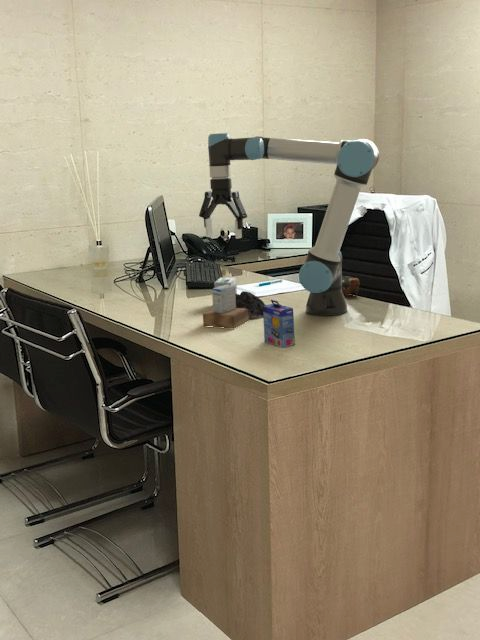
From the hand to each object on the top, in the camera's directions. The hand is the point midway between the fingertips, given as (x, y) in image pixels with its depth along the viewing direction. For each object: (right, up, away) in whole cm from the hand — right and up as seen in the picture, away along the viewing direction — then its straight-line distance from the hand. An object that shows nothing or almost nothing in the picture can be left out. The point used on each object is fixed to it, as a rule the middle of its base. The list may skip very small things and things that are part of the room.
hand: (223, 237), depth 287 cm
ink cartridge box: (+18, -38, -32) cm, 53 cm away
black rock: (+10, -28, +8) cm, 31 cm away
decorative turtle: (+49, -20, +35) cm, 64 cm away
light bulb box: (+1, -25, +23) cm, 34 cm away
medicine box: (0, -27, -4) cm, 27 cm away
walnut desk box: (+1, -32, -4) cm, 32 cm away
